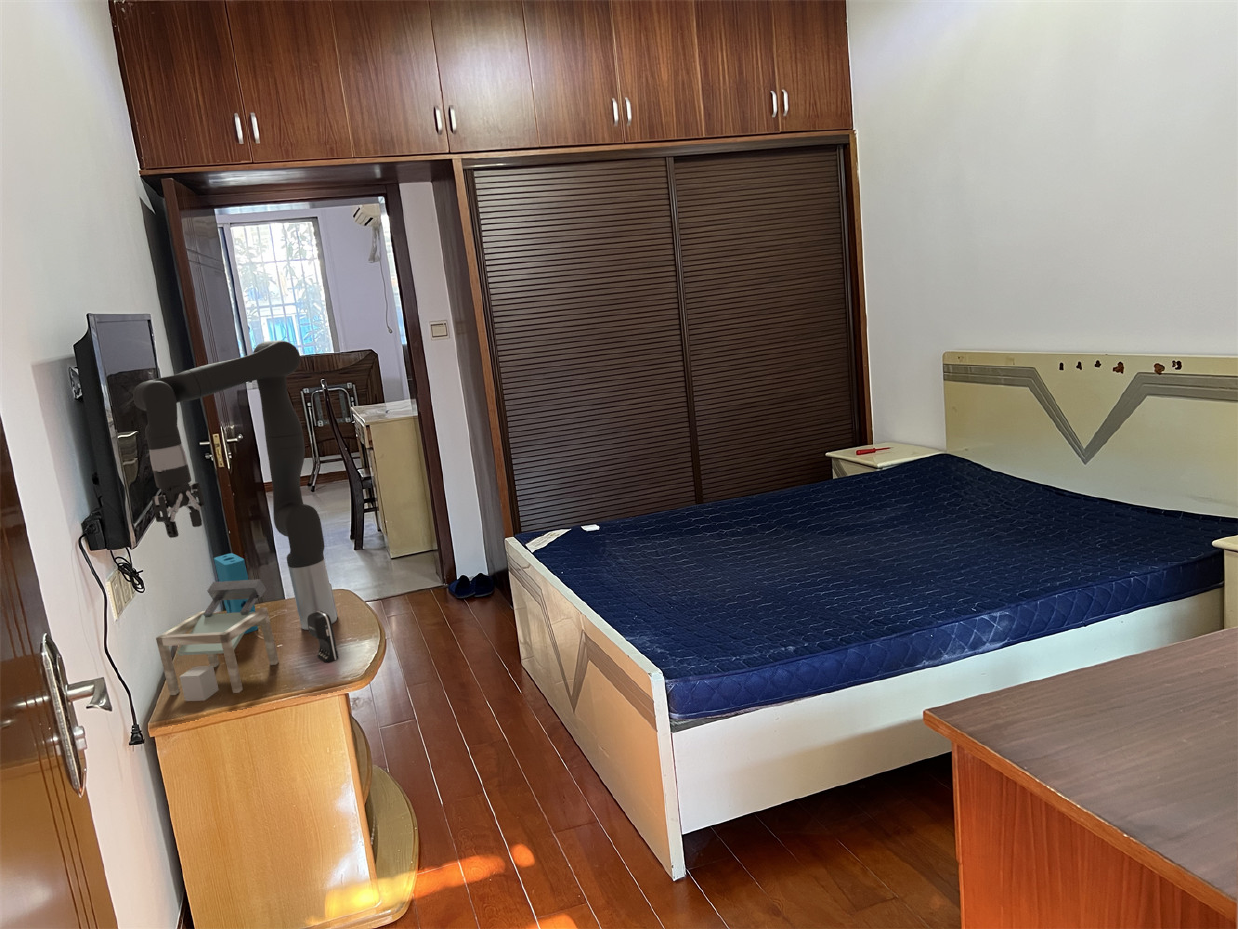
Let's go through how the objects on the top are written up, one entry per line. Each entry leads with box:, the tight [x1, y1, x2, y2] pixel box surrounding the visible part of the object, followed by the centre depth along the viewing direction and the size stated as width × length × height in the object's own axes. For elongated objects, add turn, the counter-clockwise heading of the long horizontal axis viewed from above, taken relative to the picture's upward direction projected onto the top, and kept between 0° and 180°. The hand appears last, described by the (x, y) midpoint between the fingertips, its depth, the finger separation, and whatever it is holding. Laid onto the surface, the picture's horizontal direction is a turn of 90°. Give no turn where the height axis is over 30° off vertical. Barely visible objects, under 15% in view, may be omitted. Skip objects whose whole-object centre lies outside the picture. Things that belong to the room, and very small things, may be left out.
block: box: [213, 552, 259, 635], centre depth 244 cm, size 12×5×20 cm, turn 39°
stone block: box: [179, 665, 219, 702], centre depth 204 cm, size 5×5×6 cm
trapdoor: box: [176, 578, 267, 656], centre depth 213 cm, size 20×14×4 cm
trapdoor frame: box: [155, 607, 280, 696], centre depth 211 cm, size 16×18×14 cm
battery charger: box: [307, 611, 339, 663], centre depth 215 cm, size 7×4×11 cm, turn 40°
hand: (185, 531), depth 215 cm, fingers open, 8 cm apart
